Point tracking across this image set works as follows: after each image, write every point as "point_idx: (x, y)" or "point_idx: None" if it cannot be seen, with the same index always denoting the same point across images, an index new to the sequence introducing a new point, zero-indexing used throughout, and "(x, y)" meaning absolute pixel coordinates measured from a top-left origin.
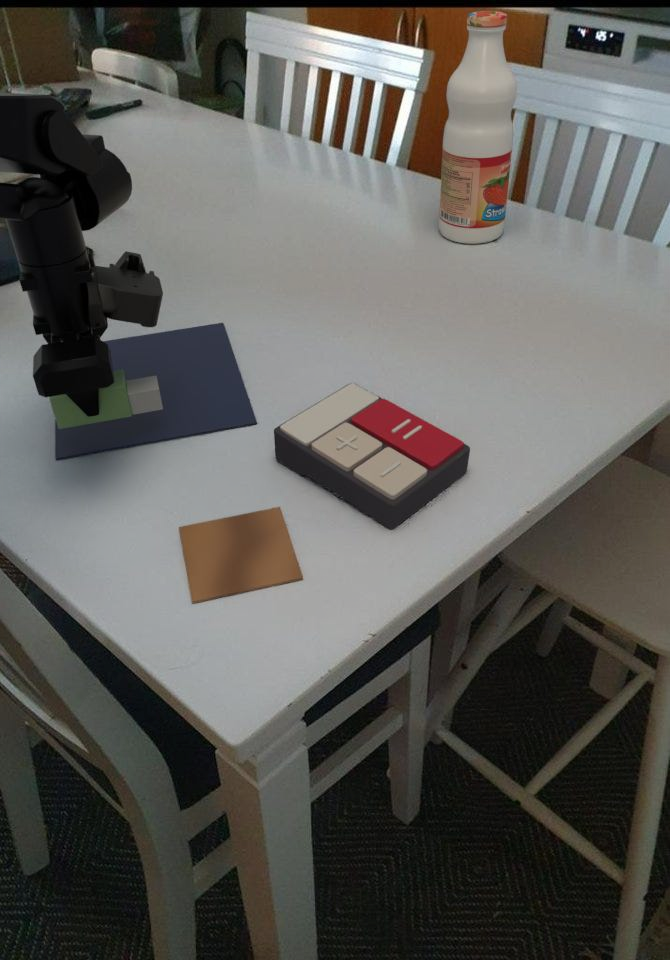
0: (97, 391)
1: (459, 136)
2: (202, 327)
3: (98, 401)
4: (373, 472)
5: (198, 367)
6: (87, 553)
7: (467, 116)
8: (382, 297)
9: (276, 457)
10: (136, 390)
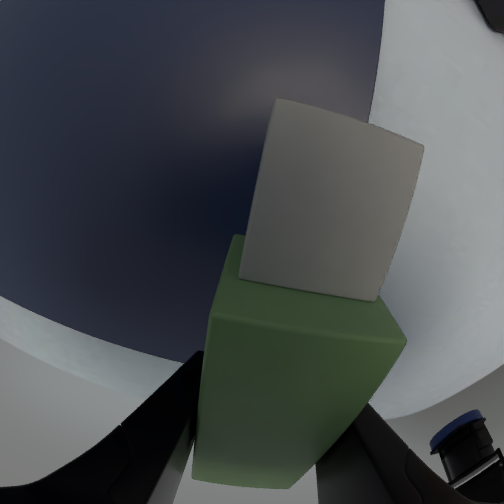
0: (405, 447)
1: None
2: None
3: (374, 410)
4: None
5: (78, 15)
6: (486, 349)
7: None
8: None
9: (499, 30)
10: (371, 256)
